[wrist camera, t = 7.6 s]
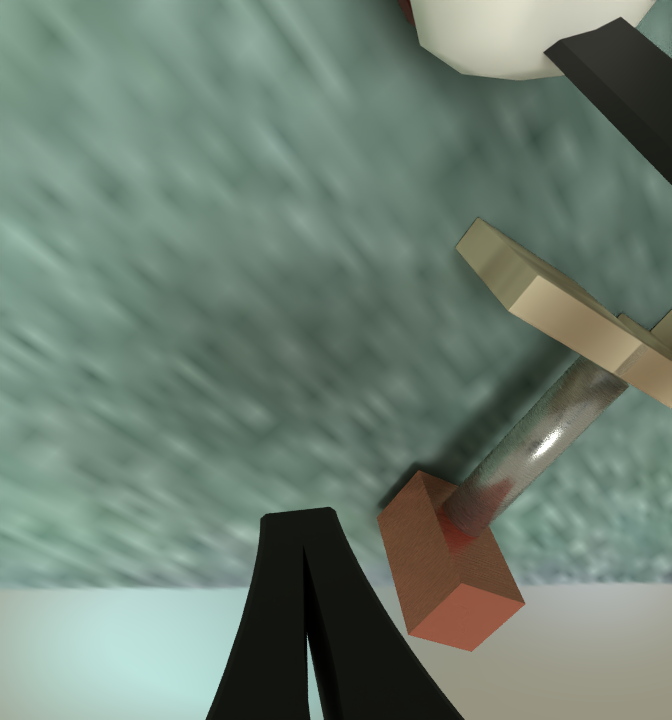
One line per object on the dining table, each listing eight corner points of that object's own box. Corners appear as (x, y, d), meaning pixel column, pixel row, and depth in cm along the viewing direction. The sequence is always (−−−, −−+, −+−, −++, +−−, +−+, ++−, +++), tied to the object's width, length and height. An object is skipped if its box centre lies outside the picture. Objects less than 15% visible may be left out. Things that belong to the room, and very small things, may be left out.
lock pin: (604, 355, 22) (698, 450, 18) (430, 536, 26) (471, 651, 22) (549, 321, 21) (635, 414, 16) (376, 517, 25) (408, 634, 21)
